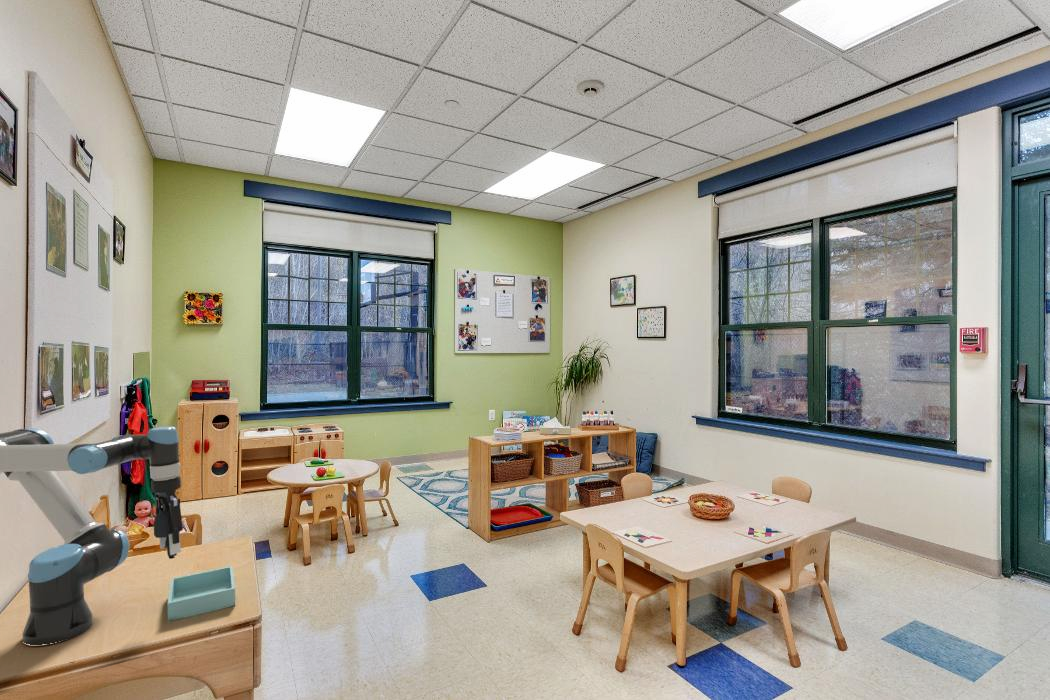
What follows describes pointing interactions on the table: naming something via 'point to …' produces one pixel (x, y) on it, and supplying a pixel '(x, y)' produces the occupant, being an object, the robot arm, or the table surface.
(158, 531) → the toy
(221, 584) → the bin
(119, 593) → the table surface
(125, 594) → the table surface
